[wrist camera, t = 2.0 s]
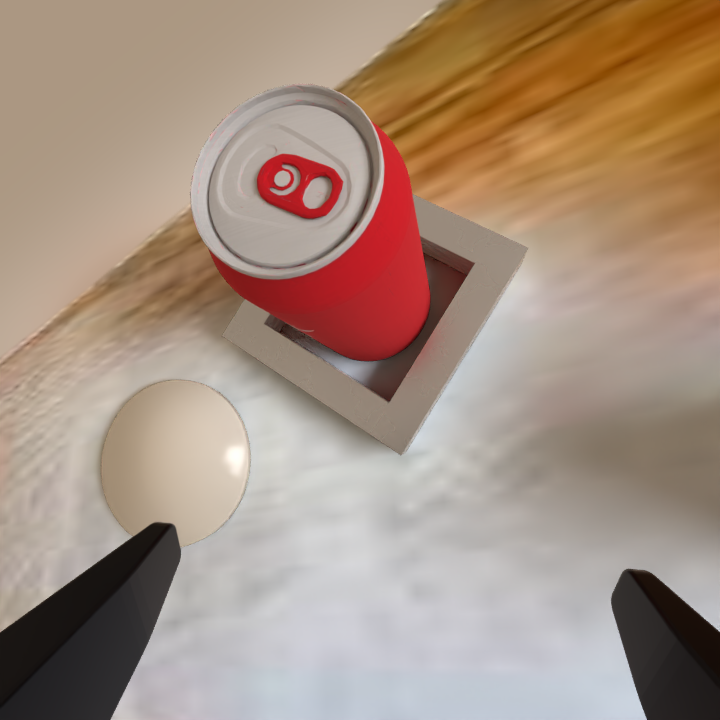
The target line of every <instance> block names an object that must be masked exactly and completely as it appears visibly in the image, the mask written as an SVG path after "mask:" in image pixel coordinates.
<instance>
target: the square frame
mask: <svg viewBox="0 0 720 720" xmlns="http://www.w3.org/2000/svg"><path fill="white" fill-rule="evenodd" d="M412 195H413V194H412ZM413 200H414V206H415V212H416V217H417V223H418V228H419V234H420V239H421V245H422V250H423V253H425V254H427V255H429V256H431V257H433V258H435V259H437V260H439V261H440V262H442V263H444V264H446V265H448V266H450V267H452V268H454V269H456V270H458V271H460V272H462V273H464V274H466V275H468V276H467V277H466V279H465V280H464V282H463V284H462V285H461V287H460V289H459V290H458V292H457V293H456V295H455V297H454V298H453V300H452V302H451V303H450V305H449V306H448V308H447V310H446V311H445V313H444V315H443V316H442V318H441V319H440V321H439V323H438V324H437V326H436V328H435V329H434V331H433V332H432V334H431V336H430V337H429V339H428V341H427V342H426V344H425V345H424V347H423V349H422V350H421V352H420V354H419V355H418V357H417V358H416V360H415V362H414V363H413V365H412V367H411V368H410V370H409V371H408V373H407V375H406V376H405V378H404V380H403V381H402V383H401V384H400V386H399V388H398V389H397V391H396V393H395V394H394V396H393V397H392V399H391V401H388V400H387V399H385V398H384V397H382V396H380V395H379V394H377V393H376V392H374V391H372V390H371V389H369V388H368V387H366V386H365V385H363V384H361V383H360V382H358V381H357V380H355V379H353V378H352V377H350V376H349V375H347V374H346V373H344V372H342V371H341V370H339V369H338V368H336V367H334V366H333V365H331V364H330V363H328V362H327V361H325V360H323V359H322V358H320V357H319V356H317V355H315V354H314V353H312V352H311V351H309V350H308V349H306V348H304V347H303V346H301V345H300V344H298V343H296V342H295V341H293V340H292V339H290V338H288V337H287V336H285V335H284V334H282V333H281V332H280V331H281V329H282V328H283V326H284V324H285V322H284V321H282V320H280V319H278V318H277V317H275V316H273V315H271V314H270V313H268V312H266V311H265V310H263V309H261V308H259V307H258V306H256V305H254V304H252V303H251V302H249V301H247V300H246V299H244V301H243V302H242V304H241V306H240V307H239V309H238V310H237V312H236V314H235V315H234V317H233V318H232V320H231V322H230V323H229V325H228V327H227V328H226V330H225V331H224V333H223V335H222V336H223V337H224V338H226V339H227V340H229V341H230V342H232V343H233V344H235V345H236V346H238V347H239V348H241V349H242V350H244V351H245V352H247V353H248V354H250V355H251V356H253V357H254V358H256V359H257V360H259V361H260V362H262V363H263V364H265V365H266V366H268V367H269V368H271V369H272V370H274V371H275V372H277V373H278V374H280V375H281V376H283V377H284V378H286V379H287V380H289V381H290V382H292V383H293V384H295V385H296V386H298V387H299V388H301V389H302V390H304V391H305V392H307V393H308V394H310V395H311V396H313V397H314V398H316V399H317V400H319V401H320V402H322V403H323V404H325V405H326V406H328V407H329V408H331V409H332V410H334V411H335V412H337V413H338V414H340V415H341V416H343V417H344V418H346V419H347V420H349V421H350V422H352V423H353V424H355V425H356V426H358V427H359V428H361V429H362V430H364V431H365V432H367V433H368V434H370V435H371V436H373V437H374V438H376V439H377V440H379V441H380V442H382V443H383V444H385V445H386V446H388V447H389V448H391V449H392V450H394V451H395V452H397V453H398V454H400V455H402V454H404V453H405V452H406V451H407V449H408V448H409V446H410V444H411V443H412V441H413V440H414V438H415V436H416V435H417V433H418V431H419V430H420V428H421V427H422V425H423V423H424V422H425V420H426V418H427V417H428V415H429V414H430V412H431V410H432V409H433V407H434V405H435V404H436V402H437V401H438V399H439V397H440V396H441V394H442V392H443V391H444V389H445V388H446V386H447V384H448V383H449V381H450V379H451V378H452V376H453V374H454V373H455V371H456V370H457V368H458V366H459V365H460V363H461V361H462V360H463V358H464V357H465V355H466V353H467V352H468V350H469V348H470V347H471V345H472V344H473V342H474V340H475V339H476V337H477V335H478V334H479V332H480V331H481V329H482V327H483V326H484V324H485V322H486V321H487V319H488V317H489V316H490V314H491V313H492V311H493V309H494V308H495V306H496V304H497V303H498V301H499V300H500V298H501V296H502V295H503V293H504V291H505V290H506V288H507V287H508V285H509V283H510V282H511V280H512V278H513V277H514V275H515V274H516V272H517V270H518V269H519V267H520V265H521V264H522V261H523V259H524V257H525V254H526V252H527V250H528V247H525V246H523V245H521V244H519V243H517V242H515V241H512V240H510V239H508V238H506V237H504V236H502V235H500V234H497V233H495V232H493V231H491V230H489V229H487V228H484V227H482V226H480V225H478V224H476V223H474V222H472V221H469V220H467V219H465V218H463V217H461V216H459V215H456V214H454V213H452V212H450V211H448V210H446V209H444V208H441V207H439V206H437V205H435V204H433V203H431V202H428V201H426V200H424V199H422V198H420V197H418V196H416V195H413Z"/></svg>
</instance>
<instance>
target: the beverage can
mask: <svg viewBox="0 0 720 720" xmlns="http://www.w3.org/2000/svg"><path fill="white" fill-rule="evenodd" d="M190 198H191V210H192V214H193V219H194V222H195V225H196V227H197V230H198V232H199V234H200V236H201V238H202V240H203V241H204V243H205V244H206V246H207V247H208V249H209V252H210V254H211V256H212V259H213V261H214V263H215V265H216V267H217V269H218V270H219V272H220V273H221V275H222V276H223V277H224V279H225V280H226V281H227V283H228V284H229V285H230V286H231V287H232V288H233V289H234V290H235V291H236V292H237V293H238V294H239V295H240V296H242V297H243V298H244V299H246V300H247V301H249V302H251V303H252V304H254V305H256V306H258V307H259V308H261V309H263V310H265V311H266V312H268V313H270V314H271V315H273V316H275V317H277V318H278V319H280V320H282V321H284V322H285V323H287V324H289V325H290V326H292V327H294V328H296V329H297V330H299V331H301V332H303V333H304V334H306V335H308V336H310V337H311V338H313V339H315V340H316V341H318V342H320V343H322V344H323V345H325V346H327V347H329V348H330V349H332V350H334V351H336V352H337V353H339V354H341V355H343V356H345V357H348V358H350V359H354V360H359V361H377V360H382V359H385V358H389V357H391V356H393V355H395V354H397V353H399V352H401V351H402V350H404V349H405V348H406V347H408V346H409V345H410V344H411V343H412V342H413V341H414V340H415V339H416V338H417V336H418V335H419V334H420V332H421V330H422V329H423V327H424V325H425V323H426V320H427V317H428V314H429V309H430V289H429V284H428V278H427V273H426V267H425V261H424V256H423V250H422V245H421V239H420V234H419V228H418V223H417V217H416V212H415V206H414V200H413V195H412V189H411V184H410V179H409V175H408V171H407V168H406V166H405V163H404V161H403V159H402V157H401V155H400V153H399V152H398V150H397V148H396V147H395V145H394V144H393V142H392V141H391V140H390V139H389V137H388V136H387V135H386V134H385V133H384V132H383V131H382V130H381V129H380V128H379V127H378V126H377V125H375V124H374V123H373V122H372V121H370V119H369V118H368V116H367V115H366V114H365V112H364V111H363V110H362V109H361V108H360V107H359V106H358V105H357V104H356V103H355V102H354V101H352V100H351V99H349V98H348V97H346V96H345V95H343V94H342V93H340V92H337V91H335V90H333V89H330V88H327V87H323V86H318V85H312V84H292V85H285V86H281V87H276V88H273V89H270V90H267V91H264V92H262V93H260V94H258V95H255V96H254V97H252V98H250V99H248V100H246V101H245V102H243V103H242V104H241V105H239V106H237V107H236V108H235V109H234V110H233V111H232V112H230V113H229V114H228V115H227V116H226V117H225V118H224V119H223V120H222V121H221V122H220V123H219V124H218V125H217V127H216V128H215V129H214V130H213V132H212V133H211V135H210V137H209V138H208V139H207V141H206V143H205V144H204V146H203V148H202V150H201V152H200V154H199V157H198V159H197V161H196V165H195V168H194V172H193V176H192V182H191V192H190Z"/></svg>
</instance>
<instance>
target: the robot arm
mask: <svg viewBox="0 0 720 720" xmlns="http://www.w3.org/2000/svg"><path fill="white" fill-rule="evenodd" d="M180 558H181V548H180V543H179V539H178V534H177V530H176V527H175V525H174V524H172V523H165V522H154V523H152V524H150V525H149V526H147V527H146V528H144V529H143V530H142V531H140V532H139V533H137V534H136V535H135V536H133V537H132V538H130V539H129V540H128V541H126V542H125V543H124V544H122V545H121V546H119V547H118V548H117V549H115V550H114V551H112V552H111V553H110V554H108V555H107V556H106V557H104V558H103V559H101V560H100V561H99V562H97V563H96V564H94V565H93V566H92V567H90V568H89V569H88V570H86V571H85V572H83V573H82V574H81V575H79V576H78V577H76V578H75V579H74V580H72V581H71V582H69V583H68V584H67V585H65V586H64V587H63V588H61V589H60V590H58V591H57V592H56V593H54V594H53V595H51V596H50V597H49V598H47V599H46V600H45V601H43V602H42V603H40V604H39V605H38V606H36V607H35V608H33V609H32V610H31V611H29V612H28V613H27V614H25V615H24V616H22V617H21V618H20V619H18V620H17V621H15V622H14V623H13V624H11V625H10V626H8V627H7V628H6V629H4V630H3V631H2V632H0V720H110V719H111V717H112V715H113V713H114V711H115V709H116V707H117V705H118V703H119V701H120V699H121V697H122V695H123V693H124V691H125V689H126V687H127V685H128V683H129V681H130V679H131V677H132V675H133V673H134V671H135V669H136V667H137V665H138V663H139V661H140V659H141V656H142V654H143V652H144V650H145V648H146V646H147V644H148V642H149V639H150V637H151V634H152V632H153V630H154V627H155V624H156V622H157V619H158V617H159V614H160V611H161V609H162V606H163V604H164V601H165V598H166V596H167V593H168V591H169V588H170V585H171V583H172V580H173V578H174V575H175V572H176V570H177V567H178V565H179V562H180ZM611 604H612V610H613V613H614V617H615V620H616V623H617V627H618V630H619V633H620V637H621V640H622V644H623V647H624V650H625V654H626V657H627V660H628V664H629V667H630V671H631V674H632V677H633V681H634V684H635V687H636V690H637V693H638V696H639V699H640V702H641V705H642V708H643V710H644V713H645V716H646V718H647V720H720V632H719V631H718V630H717V629H716V628H715V627H713V626H712V625H711V624H710V623H709V622H708V621H706V620H705V619H704V618H703V617H702V616H701V615H700V614H698V613H697V612H696V611H695V610H694V609H693V608H691V607H690V606H689V605H688V604H687V603H686V602H685V601H683V600H682V599H681V598H680V597H679V596H678V595H677V594H675V593H674V592H673V591H672V590H671V589H670V588H668V587H667V586H666V585H665V584H664V583H663V582H662V581H660V580H659V579H658V578H657V577H656V576H655V575H653V574H652V573H650V572H648V571H645V570H636V569H626V570H624V571H623V572H622V574H621V576H620V578H619V581H618V583H617V585H616V587H615V589H614V591H613V593H612V598H611Z"/></svg>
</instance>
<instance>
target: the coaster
mask: <svg viewBox="0 0 720 720" xmlns="http://www.w3.org/2000/svg"><path fill="white" fill-rule="evenodd" d="M250 463H251V453H250V443H249V439H248V434H247V431H246V428H245V425H244V423H243V421H242V419H241V417H240V415H239V413H238V412H237V410H236V409H235V407H234V406H233V405H232V404H231V403H230V401H229V400H228V399H227V398H226V397H224V396H223V395H222V394H221V393H220V392H218V391H216V390H215V389H213V388H211V387H209V386H207V385H204V384H201V383H197V382H192V381H185V380H169V381H164V382H160V383H157V384H154V385H151V386H149V387H147V388H145V389H143V390H142V391H141V392H139V393H138V394H136V395H135V396H134V397H133V398H132V399H130V400H129V401H128V402H127V403H126V404H125V406H124V407H123V408H122V409H121V410H120V412H119V413H118V415H117V416H116V418H115V419H114V421H113V423H112V425H111V427H110V429H109V432H108V434H107V437H106V440H105V444H104V448H103V453H102V462H101V477H102V484H103V490H104V493H105V497H106V500H107V503H108V505H109V508H110V509H111V511H112V513H113V515H114V517H115V518H116V519H117V521H118V522H119V524H120V525H121V526H122V527H123V528H124V529H125V530H126V531H127V532H128V533H129V534H131V535H132V536H135V535H136V534H137V533H139V532H140V531H142V530H143V529H144V528H146V527H147V526H149V525H150V524H152V523H154V522H165V523H172V524H174V525H175V527H176V530H177V534H178V539H179V543H180V547H183V546H187V545H191V544H193V543H195V542H198V541H200V540H202V539H204V538H206V537H208V536H209V535H211V534H213V533H214V532H216V531H217V530H218V529H219V528H220V527H222V526H223V525H224V524H225V523H226V522H227V521H228V519H229V518H230V517H231V516H232V514H233V513H234V512H235V510H236V509H237V507H238V505H239V503H240V501H241V500H242V497H243V495H244V492H245V490H246V486H247V483H248V479H249V473H250Z"/></svg>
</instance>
